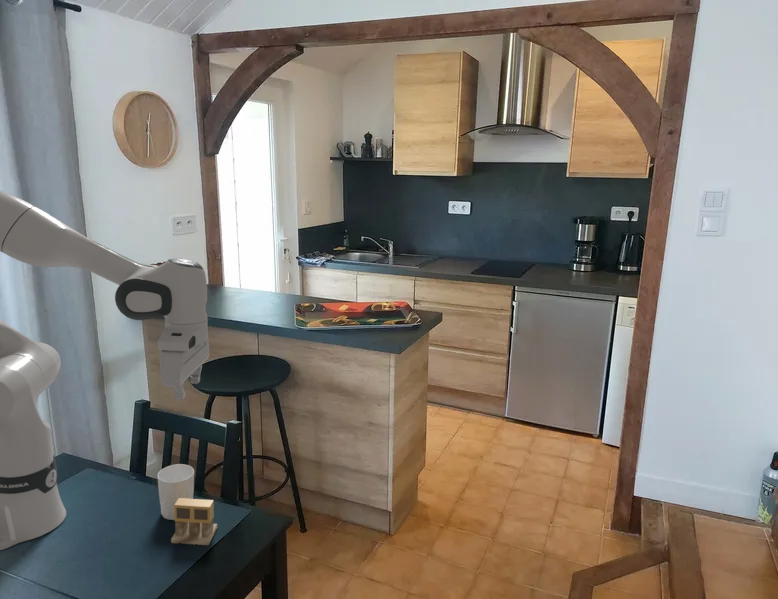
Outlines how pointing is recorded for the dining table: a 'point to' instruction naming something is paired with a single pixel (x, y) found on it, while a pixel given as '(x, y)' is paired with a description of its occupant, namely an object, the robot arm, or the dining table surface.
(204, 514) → the tan rectangular block
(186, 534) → the display stand
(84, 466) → the dining table surface
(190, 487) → the white cup
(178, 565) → the dining table surface
